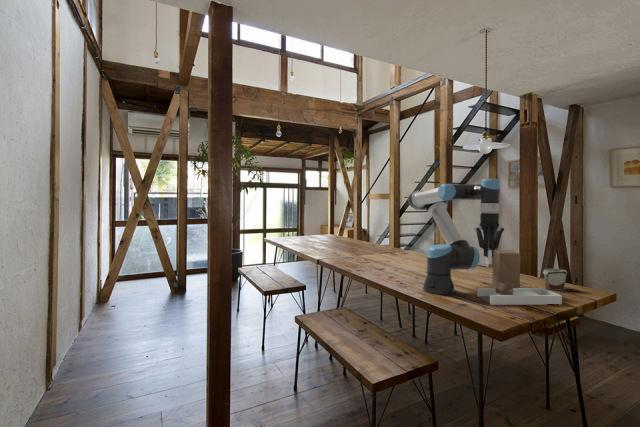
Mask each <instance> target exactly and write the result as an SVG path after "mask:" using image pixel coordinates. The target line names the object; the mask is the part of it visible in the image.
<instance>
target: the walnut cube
mask: <svg viewBox="0 0 640 427" xmlns="http://www.w3.org/2000/svg"><path fill="white" fill-rule="evenodd" d="M496 293H498V294H500V295H513V285H512V284H510V283H508V282H496Z"/></svg>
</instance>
